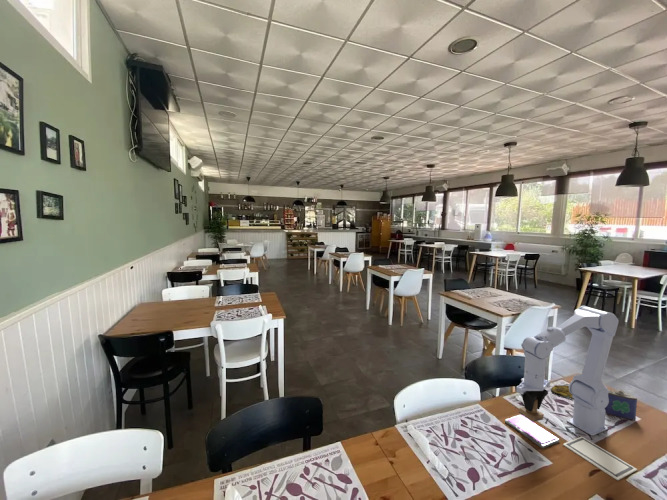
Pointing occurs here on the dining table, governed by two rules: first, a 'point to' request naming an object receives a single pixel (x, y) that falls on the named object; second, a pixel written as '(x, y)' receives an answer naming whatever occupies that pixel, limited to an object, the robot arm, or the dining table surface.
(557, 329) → the robot arm
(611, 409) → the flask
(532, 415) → the stamp
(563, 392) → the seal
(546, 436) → the ink pad
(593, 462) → the marked card
